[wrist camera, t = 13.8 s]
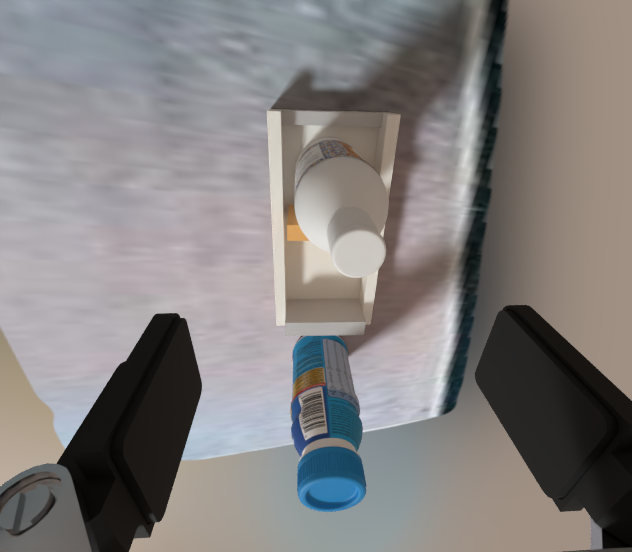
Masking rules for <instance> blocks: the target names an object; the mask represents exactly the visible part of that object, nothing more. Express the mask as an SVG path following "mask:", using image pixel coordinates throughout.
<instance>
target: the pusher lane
mask: <svg viewBox="0 0 632 552" xmlns="http://www.w3.org/2000/svg"><path fill="white" fill-rule="evenodd" d="M400 117H401V115H399V114H395V113H390V112H359V111H324V110H289V109H269V110H268V111H267V123H268V146H269V168H270V191H271V214H272V236H273V259H274V282H275V304H276V326H283V325H285V336H327V335H364V333H365V325H371V319H372V312H373V305H374V298H375V291H376V284H377V277H378V270H379V269H378V270H377V271H375V272H374V273H372V274H370V275H368V276H365V277H361V278H353V277H348V276H346V275H344V274H342V273H341V272H339V271H338V270H337V269H336V267H335V266H334V264H333V262H332V259H331V254H330V253H329V252H326V251H324V250H322V249H320V248H318V247H317V246H315V245H314V244H313V243H311V242H310V241H287V219H288V207H289V205H294V190H295V169H296V164H297V161H298V158H299V156H300V154H301V153H302V151H303V150H304V149H305V148H306V147H307V146H308V145H309V144H311V143H313V142H314V141H316V140H318V139H322V138H337V139H340V140H343V141H345V142H346V143H348V144H349V145H350V146H351V147H353V148H354V149H355V150H356V151H357V152H358V153H359V154H360V155H361V156H362V157H363V158H364V159H365V160H366V161H367V162H368V163H369V164H370V165H371V166H372V167H373V168H374V169H375V170H376V171H377V173H378V174H379V175H380V177H381V179H382V181H383V183H384V185H385V188H386V191H387V195H388V201H389V194H390V187H391V180H392V173H393V166H394V159H395V152H396V145H397V138H398V131H399V124H400ZM384 228H385V225H384ZM384 228H383V230H382V231H381V233H380V234H381V236H382V237H383V235H384Z"/></svg>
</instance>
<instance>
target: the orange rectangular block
mask: <svg viewBox="0 0 632 552" xmlns="http://www.w3.org/2000/svg"><path fill="white" fill-rule="evenodd" d="M287 241H309V240H308V238H307V237H306V236H305V235H304V233H303V232H302V230H301V228H300V226H299V224H298V222H297V219H296V216H295V211H294V205H289V207H288V219H287Z"/></svg>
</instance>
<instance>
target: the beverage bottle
mask: <svg viewBox="0 0 632 552" xmlns="http://www.w3.org/2000/svg"><path fill="white" fill-rule="evenodd" d="M290 413H291V419H292V422H293V424H292V427H291V436H292V440H293V443H294V446H295V448H296V450H297V452H298V453H299V455H300V456H301V458H300V460H299V464H298V474H297V475H298V476H297V477H298V479H297V484H298V488H297V490H298V496H299V499H300V501H301V503H302V504H303V505H305V506H306V507H308V508H310V509H313V510H317V511H323V512H333V511H340V510H344V509H347V508H350V507H352V506H355V505H356V504H357V503H359V502H360V501H361V500H362V499H363V498H364V496H365V493H366V481H365V476H364V470H363V465H362V460H361V458H360V456H359V454H358V453H357V450H358V448H359V445H360V443H361V439H362V430H363V428H362V422H361V420H360V418H359V414H360V406H359V401H358V398H357V396H356V394H355V391H354V386H353V381H352V376H351V371H350V365H349V360H348V350H347V346H346V344H345V342H344V341H343V340H342V338H340V337H339V336H338V335H327V336H303V337H301V338H300V339H299V340H298V341H297V343H296V344H295V346H294V349H293V395H292V402H291V408H290Z"/></svg>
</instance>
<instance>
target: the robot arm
mask: <svg viewBox="0 0 632 552" xmlns="http://www.w3.org/2000/svg"><path fill="white" fill-rule="evenodd" d="M475 379H476V382H477V385H478V386H479V388H480V389H481V391H482V393H483V394H484V396H485V398H486V399H487V401H488V402H489V404H490V406H491V407H492V409H493V411H494V412H495V414H496V415H497V417H498V419H499V420H500V422H501V424H502V425H503V427H504V428H505V430H506V432H507V433H508V435H509V437H510V438H511V440H512V441H513V443H514V445H515V446H516V448H517V450H518V451H519V453H520V454H521V456H522V458H523V459H524V461H525V463H526V464H527V466H528V468H529V469H530V471H531V472H532V474H533V476H534V477H535V479H536V481H537V482H538V484H539V485H540V487H541V489H542V490H543V491H544V493H545V494H546V495H547V496H548V497H550V498H552V499H553V501H554V502H555V504H556V505H557V507H558V509H559V510H560V512H564V511H580V510H582V509H583V508H585V509H586V511H587V512H588V513H589V515H590V516H591V550H582V551H581V550H580V551H564V552H632V401H631V400H630V399H629V398H628V397H627V396H626V395H625V394H624V393H622V392H621V391H620V390H619V389H618V388H617V387H616V386H615V385H614V384H613V383H612V382H611V381H610V380H608V379H607V378H606V377H605V376H604V375H603V374H602V373H601V372H600V371H599V370H598V369H596V367H595V366H593V364H591V363H590V362H589V361H588V360H587V359H586V358H585V357H584V356H583V355H582V354H581V353H580V352H578V351H577V350H576V349H575V348H574V347H573V346H572V345H571V344H570V343H569V342H568V341H567V340H566V339H565V338H563V337H562V336H561V335H560V334H559V333H558V332H557V331H556V330H555V329H554V328H553V327H552V326H551V325H549V323H547V322H546V321H545V320H544V319H543V318H542V317H541V316H540V315H539V314H538V313H536V311H534V310H533V309H532V308H531V307H530V306H527V305H509V306H506V307H504V308H503V310H502V311H500V312H499V313H498V314H497V317H496V320H495V322H494V325H493V327H492V330H491V333H490V335H489V338H488V340H487V343H486V346H485V348H484V351H483V353H482V356H481V359H480V361H479V364H478V366H477V369H476V372H475ZM201 391H202V382H201V378H200V374H199V369H198V365H197V361H196V357H195V353H194V349H193V345H192V341H191V337H190V333H189V329H188V325H187V321H186V319H185V318H180V316H179V314H177V313H166V314H155V315H154V317H153V318H152V320H151V321H150V323H149V325H148V326H147V328H146V329H145V331H144V333H143V334H142V336H141V338H140V339H139V341H138V342H137V344H136V346H135V347H134V349H133V351H132V352H131V354H130V356H129V357H128V359H127V360H126V361H124V362H123V363H121V364H120V365H119V366H118V367H117V369H116V370H115V372H114V373H113V375H112V377H111V378H110V380H109V381H108V383H107V385H106V386H105V388H104V389H103V391H102V392H101V394H100V396H99V397H98V399H97V400H96V402H95V404H94V405H93V407H92V408H91V410H90V411H89V413H88V415H87V416H86V418H85V419H84V421H83V422H82V424H81V426H80V427H79V429H78V430H77V432H76V434H75V435H74V437H73V438H72V440H71V441H70V443H69V445H68V446H67V448H66V449H65V451H64V453H63V454H62V456H61V457H60V459H59V461H58V462H57V464H43V465H40V466H35V467H32V468H30V469H28V470H26V471H24V472H21V473H19V474H18V475H16V476H15V477H13V478H12V479H10V480H9V481H7V482H6V483H4V484H3V485H2V486H1V487H0V552H129V549H130V547H131V544H132V541H133V539H134V538H148V537H150V536H151V533H152V530H153V527H154V524H155V522H160V521H161V520H162V518H163V516H164V513H165V510H166V507H167V504H168V500H169V497H170V493H171V491H172V487H173V484H174V481H175V477H176V474H177V471H178V467H179V464H180V461H181V458H182V454H183V451H184V448H185V445H186V441H187V438H188V435H189V432H190V428H191V425H192V422H193V418H194V415H195V412H196V409H197V405H198V402H199V399H200V395H201Z"/></svg>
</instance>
